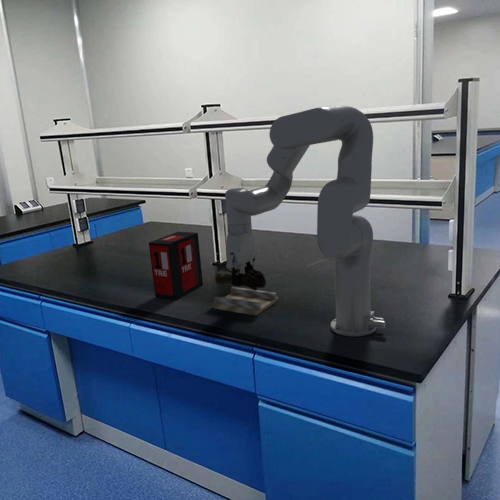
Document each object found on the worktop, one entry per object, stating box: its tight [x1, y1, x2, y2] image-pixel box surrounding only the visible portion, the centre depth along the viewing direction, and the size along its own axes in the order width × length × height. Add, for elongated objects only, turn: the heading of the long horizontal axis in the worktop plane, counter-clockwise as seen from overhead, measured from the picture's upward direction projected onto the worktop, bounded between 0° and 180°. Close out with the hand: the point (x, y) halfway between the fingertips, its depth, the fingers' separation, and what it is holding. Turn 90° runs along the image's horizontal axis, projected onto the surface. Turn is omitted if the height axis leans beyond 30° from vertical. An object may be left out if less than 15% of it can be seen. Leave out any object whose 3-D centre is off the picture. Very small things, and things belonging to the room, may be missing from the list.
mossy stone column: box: [214, 268, 267, 291], centre depth 163 cm, size 18×7×6 cm, turn 56°
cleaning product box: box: [148, 231, 204, 301], centre depth 180 cm, size 16×9×20 cm, turn 151°
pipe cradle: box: [211, 286, 280, 317], centre depth 165 cm, size 17×14×3 cm
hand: (243, 281), depth 163 cm, fingers closed on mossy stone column, 6 cm apart
